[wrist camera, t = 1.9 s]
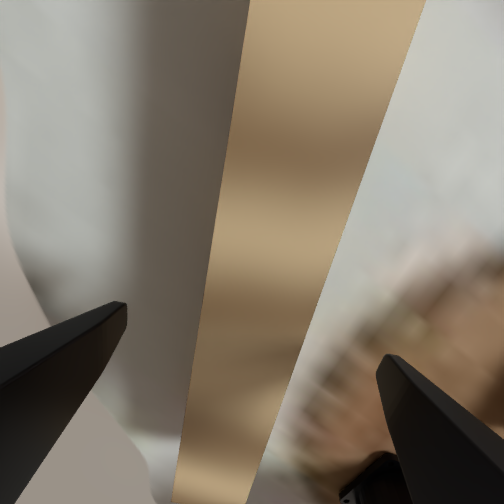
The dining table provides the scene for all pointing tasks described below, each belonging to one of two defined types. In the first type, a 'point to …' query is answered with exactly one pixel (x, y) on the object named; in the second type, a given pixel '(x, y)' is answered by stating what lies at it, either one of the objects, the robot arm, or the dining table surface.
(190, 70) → the dining table surface
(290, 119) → the oak slat
